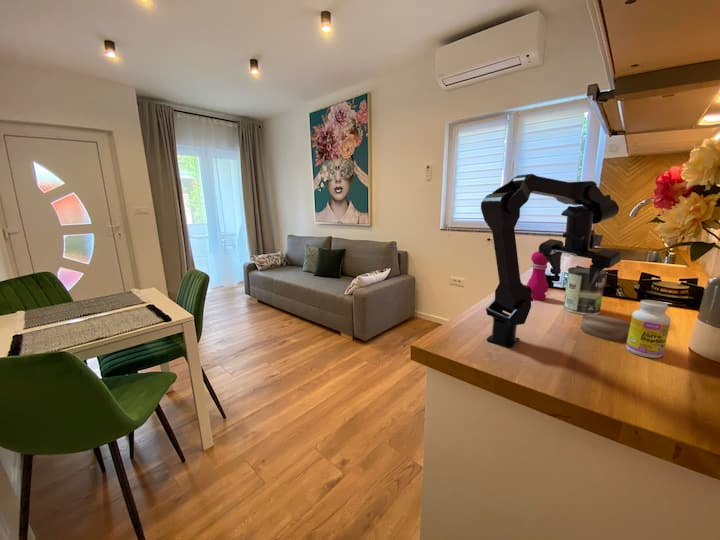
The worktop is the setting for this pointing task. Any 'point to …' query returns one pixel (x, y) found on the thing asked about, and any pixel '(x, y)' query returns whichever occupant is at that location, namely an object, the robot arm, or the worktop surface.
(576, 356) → the worktop surface
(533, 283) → the pepper mill
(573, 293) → the coffee can
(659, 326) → the supplement bottle
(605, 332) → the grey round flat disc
